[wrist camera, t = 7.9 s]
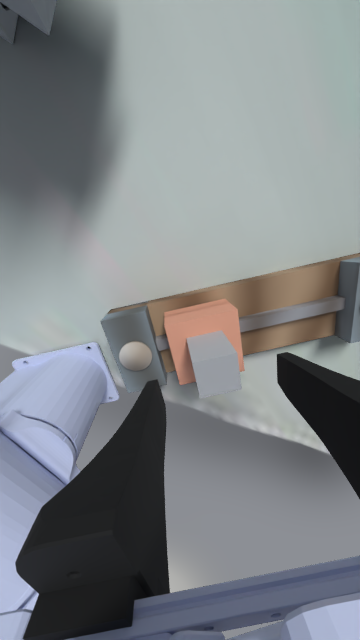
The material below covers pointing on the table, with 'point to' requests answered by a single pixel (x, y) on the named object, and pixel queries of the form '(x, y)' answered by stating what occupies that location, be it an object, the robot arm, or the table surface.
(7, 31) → the circuit breaker
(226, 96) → the table surface
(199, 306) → the carriage
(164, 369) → the rail
